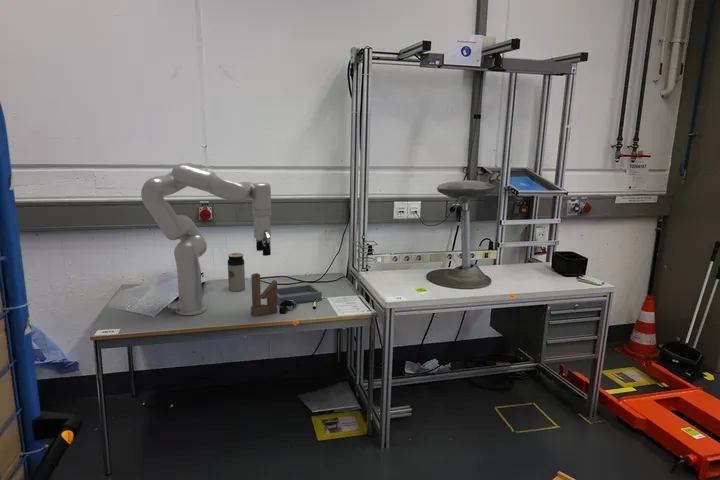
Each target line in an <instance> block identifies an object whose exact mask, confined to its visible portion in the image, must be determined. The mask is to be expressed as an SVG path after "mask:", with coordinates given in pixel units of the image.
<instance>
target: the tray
mask: <svg viewBox="0 0 720 480" xmlns="http://www.w3.org/2000/svg"><path fill="white" fill-rule="evenodd" d="M313 299H317V300H318V301H317V302H320V301H322V299H323V293H322V291H321V290H319V289H318V288H317V287H315V286H314V285H313V284H312V283H311V284H309V283H308V284H302V285H301V284H300V285H292V286H285V287H277V306H279V305H280V304H281V303H282V302H283V301H284V300H294V301H295V302H296V303H297V304H296V305H300V304H305V303H307V304H308V303H313V302H312V301H313ZM299 303H300V304H299Z"/></svg>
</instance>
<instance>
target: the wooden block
mask: <svg viewBox="0 0 720 480" xmlns="http://www.w3.org/2000/svg"><path fill="white" fill-rule="evenodd" d="M250 279H251V306H250V314H251V315H252V316H253V317H258V316H264V315H269V314H276V313H278V304H277V288H278V281H277V280H275V279H273V280H272V281H271V282H270V283H269V284H268V286H267V287H266V288H265V289H264V290H263V292H262V293H261V274H260V273H258V272H256V273H252V274H251V278H250ZM265 299H266V304H263V303H262V300H265ZM261 303H262V304H261Z"/></svg>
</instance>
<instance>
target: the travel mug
mask: <svg viewBox="0 0 720 480" xmlns="http://www.w3.org/2000/svg"><path fill="white" fill-rule="evenodd" d="M227 256H228V259H227V278H228V279H227V280H228V290H229V291H231V292H241V291H244V290H245V289H246V277H245V276H246V275H245V274H246V273H245V260H244V253H242V252H231V253H229V254H227Z"/></svg>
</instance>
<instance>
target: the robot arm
mask: <svg viewBox="0 0 720 480" xmlns="http://www.w3.org/2000/svg"><path fill="white" fill-rule="evenodd" d="M187 187H190V188H193V189H197V190H200V191H203V192H206V193H209V194H210V195H212V196H213V195H214V196H216V197H217V198H221V199H224V200H227V201H229V202H230V201H231V202H234V203H242V202H245V201H247V200H252V217H253V237H254V239H255V241H256V243H255V244H256V251H257V252H261V251H262V256H264V257H265V256H271V255H272V254H271V252H272V251H271V249H272V248H271V247H272V246H271V239H272V231H271V229H272V228H271V220H270V217H272V195H271V194H272V192H271V191H272V189H271V187H272V186H271V184H270V183H267V182H250V181H242V182H238V183H237V182H234V181H230V180H226V179H224V178H221V177H220V176H218V175H217V174H216V173H215V172H214V171H210V170H208V169H203V168H201V167H199V166H198V165H196V164H195V163H191V162H184V163H179V164H176V165H175V166H174V167H173V168H172V169H171V172H169V173H167V174H165V175H158V176H153V177H150V178H149V179H148V180H146V181H145V183H143V185H142V187H141V191H140V196H141V200H142V204H143V205H144V207H145V208H146V209H147V211H148V212H149V214H150V215H151V217H152V218H153V220H154V221H155V223H156V224H157V226H158V227H159V229H160V230H161V232H162V233H163V235H164V236H165V237H166V238H167V240H170V241H177V240H180V242H178V243H177V244H176V246H175V248H174V251H173V255H174V259H175V264H176V271H177V272H176V274H177V285H178V286H177V287H178V300H177V302H175V303H168V304H167V309H171V310H175V313H176V314H178V315H180V316H194V315H199V314H200V315H201V314H203V313H204V312H205V311H207V305H205V304H203V288H202V274H201V273H202V271H201V265H200V261H199V258H200V257H202V256H203V255H204V254H205V253H206V251H207V249H208V244H207V242H206V240H205V238H204V236H203V235H202V233H201V232H200V229H198V227H197V225H196V224H195V222H194V221H193V220H192V219H191V218H190V217H188V216H187V215H184V214H177V213H176V212H175V210H174V209H173V207H172V205H171V204H170V203H168V202H167V200H165V198H164V197H167V196H170V195H174V194H175V193H177V192H179V191H181V190H183V189H185V188H187Z"/></svg>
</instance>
